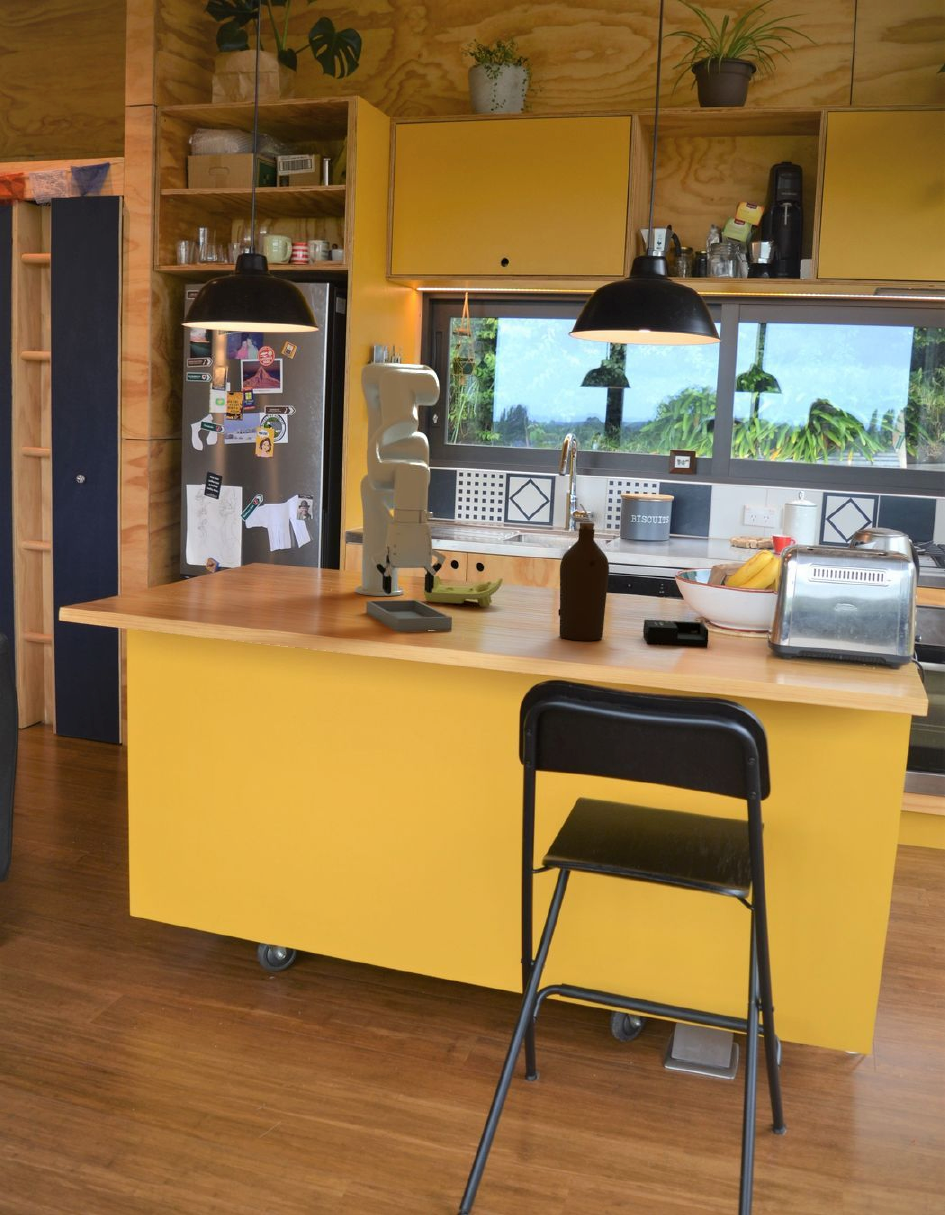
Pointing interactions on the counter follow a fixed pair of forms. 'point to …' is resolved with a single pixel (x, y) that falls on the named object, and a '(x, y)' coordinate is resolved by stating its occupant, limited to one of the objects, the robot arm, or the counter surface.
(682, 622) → the battery charger
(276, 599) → the counter surface
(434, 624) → the tray
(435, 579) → the plastic component
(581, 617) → the olive oil
